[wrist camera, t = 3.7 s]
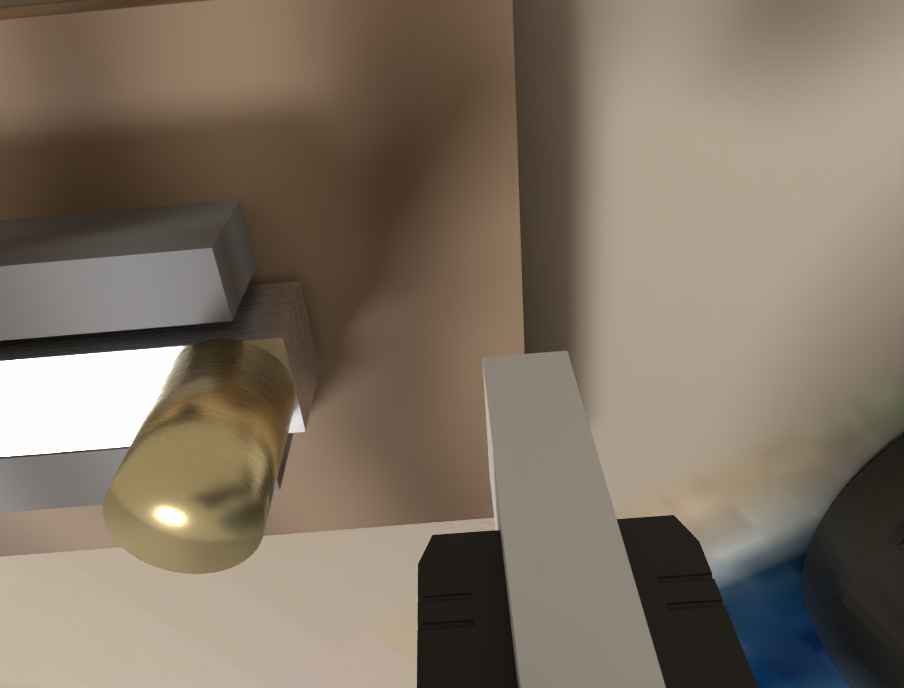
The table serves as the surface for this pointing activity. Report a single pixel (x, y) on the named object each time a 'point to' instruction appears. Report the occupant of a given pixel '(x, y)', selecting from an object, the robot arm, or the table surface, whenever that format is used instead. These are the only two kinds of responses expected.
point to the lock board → (271, 228)
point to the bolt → (173, 421)
